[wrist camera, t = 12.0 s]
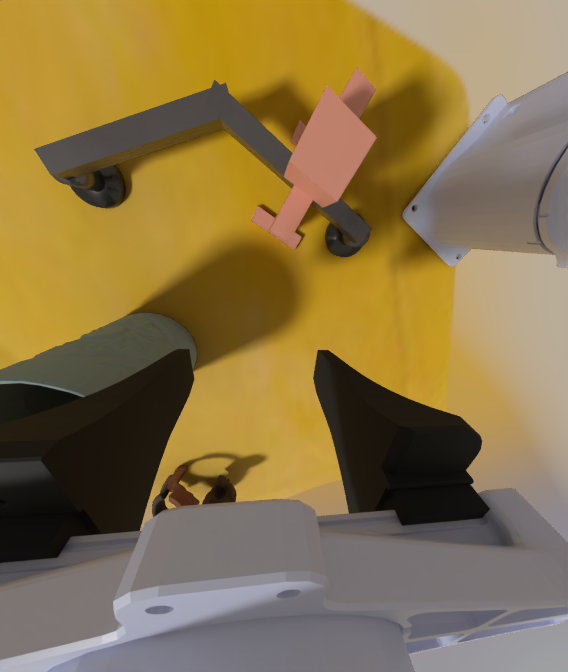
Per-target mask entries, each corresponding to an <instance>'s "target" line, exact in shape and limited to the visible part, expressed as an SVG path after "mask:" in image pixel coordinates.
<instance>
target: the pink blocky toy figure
mask: <svg viewBox="0 0 568 672" xmlns="http://www.w3.org/2000/svg"><path fill="white" fill-rule="evenodd" d="M375 91H376V89H375V87H374V86H373V85H372V84H371V83H370V82H369V81H368V79H367V78H366V77H365V76H364V75H363V74H362V73H361V71H360V70H359V69H358V68H357V67H356V69H355V71H354V73H353V74H352V76H351V78H350V80H349V82H348V83H347V85H346V87H345V89H344V90H343V92H342V94H341V96H340V98H339V97H338V96H337V95H336V94H335V93H334V92H333V91H332V90H331V89H330V88H329V87H328V86H326V88H325V90H324V92H323V94H322V96H321V98H320V100H319V102H318V104H317V106H316V108H315V110H314V112H313V114H312V116H311V118H310V120H309V122H308V124H307V126H306V125H305V124H304V123H303V122H302V121H301V120H300V121H299V123H298V125H297V127H296V129H295V131H294V133H293V135H292V137H291V140H290V141H291V142H292V143H294V144H295V145H296V148H295V150H294V152H293V154H292V156H291V158H290V160H289V163H288V166H287V168H286V171H285V174H284V177H285V178H286V179H287V180H289V181H290V182H291V183H292V184H294V185H293V187H292V189H291V191H290V193H289V195H288V197H287V199H286V201H285V203H284V204H283V206H282V208H281V210H280V212H279V213H278V214H277V216H276V217H275V218H274V217H273V216H271V215H270V214H269V213H267V212H266V211H264V210H263V209H262V208H260V207H259V206H258V207H257V209H256V211H255V213H254V215H253V217H252V219H251V221H253V222H254V223H256V224H257V225H259V226H260V227H262V228H263V229H265V230H266V231H268V232H269V233H270V234H272V235H273V236H275V237H276V238H278V239H279V240H281V241H282V242H284V243H285V244H287V245H288V246H289V247H291V248H292V249H294V250H295V248H296V247H297V245H298V243H299V242H300V240H301V238H302V237H301V236H299V235H298V234H297V233H295V231H296V229H297V227H298V225H299V224H300V222H301V220H302V218H303V217H304V215H305V213H306V211H307V210H308V208H309V206H310V204H311V203H312V201H313V200H314V201H315V202H316V203H317V204H318V205H320V206H321V207H322V208H323V207H326V206H328V205H330V204H333V203H335V202H337V201H338V200H339V198H340V197H341V195H342V193H343V192H344V190H345V188H346V187H347V185H348V184H349V182H350V180H351V179H352V177H353V175H354V174H355V172H356V171H357V169H358V167H359V166H360V164H361V162H362V161H363V159H364V158H365V156H366V154H367V153H368V151H369V149H370V148H371V146H372V145H373V143H374V141H375V140H376V138H377V137H376V136H375V135H374V134H373V133H372V132H371V131H370V130H369V129H368V128H367V127H366V126H365V124H364V123H363V122H362V121H361V120H360V117H361V115H362V114H363V112H364V110H365V108H366V107H367V105H368V103H369V101H370V100H371V98H372V96H373V94H374V93H375Z"/></svg>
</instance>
